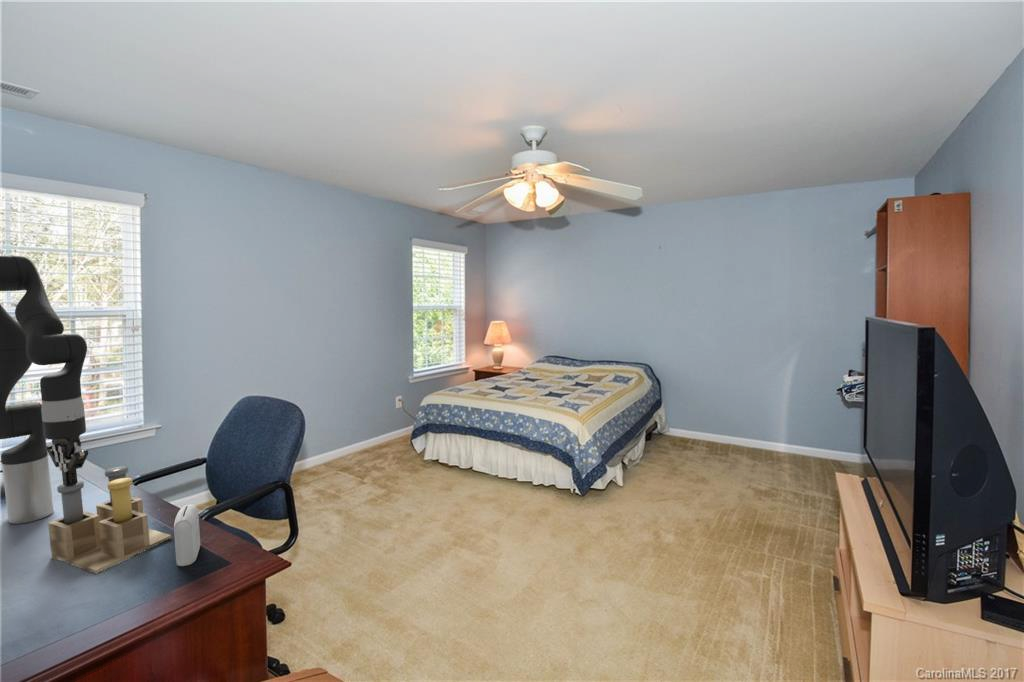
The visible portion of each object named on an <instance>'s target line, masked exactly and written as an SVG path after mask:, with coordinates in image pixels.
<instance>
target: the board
mask: <svg viewBox="0 0 1024 682" xmlns="http://www.w3.org/2000/svg"><path fill="white" fill-rule="evenodd" d="M131 506H132V517H133V518H132V519H130V520H127V521H125V522H123V523H119V524H117V523H114V516H113V507H112V506H111V502H110V500H107V501H105V502H102V503H100V504H96V505H95V508H96V513H92V512H90V511H86V510H83V514H84V519H83V520H80V521H78V522H75V523H72V524H70V525H66V524H64V516H63V517H61V518H57V519H55V520H53V521H52V520H51V521H50V522H48V523H47V525H48V534H49V543H50V551H51V553H50V554H51V558H52V557H54V558H53V559H55V558H57V559H56V560H58V559H60V560H62V561H61V562H63V561H65V562H68V563H70V564H69V565H71V564H73V565H75V566H74V567H76V566H77V568H78V567H80V568H79V569H81V568H83V569H82V570H84V569H86V570H88V571H87V572H89V571H91V572H94V573H96V574H95V575H98V574H99V573H98V572H100V571H102V570H104V571H106V570H105V569H106V568H109V567H111V566H113V565H115V564H117V563H119V562H121V561H123V562H125V561H124V560H126V559H128V558H130V557H132V556H134V555H136V554H138V553H140V552H142V551H144V550H146V549H148V548H150V547H152V546H154V545H156V544H159V543H161V542H163V541H165V540H168V539H170V538H171V539H172V534H169V533H165V532H161V531H159V530H155V529H152V528H150V527H149V520H148V518H149V517H148V514H146V513H144V505H143V499H142V498H140V497H136V496H131ZM171 539H170V540H171ZM168 541H169V540H168ZM161 544H162V543H161ZM159 545H160V544H159ZM142 553H143V552H142ZM140 554H141V553H140ZM138 555H139V554H138ZM136 556H137V555H136ZM134 557H135V556H134ZM132 558H133V557H132ZM130 559H131V558H130ZM60 560H59V561H60ZM128 560H129V559H128ZM126 561H127V560H126ZM65 562H64V563H65ZM68 563H67V564H68ZM121 563H122V562H121ZM119 564H120V563H119ZM73 565H72V566H73ZM117 565H118V564H117ZM115 566H116V565H115ZM113 567H114V566H113ZM111 568H112V567H111ZM109 569H110V568H109ZM86 570H85V571H86ZM91 572H90V573H91ZM102 572H103V571H102ZM94 573H93V574H94ZM97 573H98V574H97ZM100 573H101V572H100Z"/></svg>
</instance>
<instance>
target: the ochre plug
mask: <svg viewBox="0 0 1024 682" xmlns="http://www.w3.org/2000/svg"><path fill="white" fill-rule="evenodd" d="M133 483H134V482H133V478H131V477H126V478H121V479H116V480H113V481H111V482H109V481H108V483H106V484H107V489H108V490H109V489H110V490H111V494H112V505H113V516H114V523H117V524H119V523H123V522H125V521H127V520H130V519H132V518H133V517H132V506H131V486H132V485H133Z"/></svg>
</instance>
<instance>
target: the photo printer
mask: <svg viewBox="0 0 1024 682" xmlns="http://www.w3.org/2000/svg"><path fill="white" fill-rule="evenodd" d="M199 519H200V518H199V510H198V507H197V506H196V505H195V504H193V503H190V504H186V505H184V506H182V507H181V508H180V509H179V510H178V512H177V514H176V516H175V520H174V523H173V533H174V549H175V560H176V566H179V567H185V566H189V565H193V563H194V562H196V560H197V558H198V556H199V555H198V554H199V551H200V548H201V533H200V532H201V531H200V522H199V521H200V520H199Z"/></svg>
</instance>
